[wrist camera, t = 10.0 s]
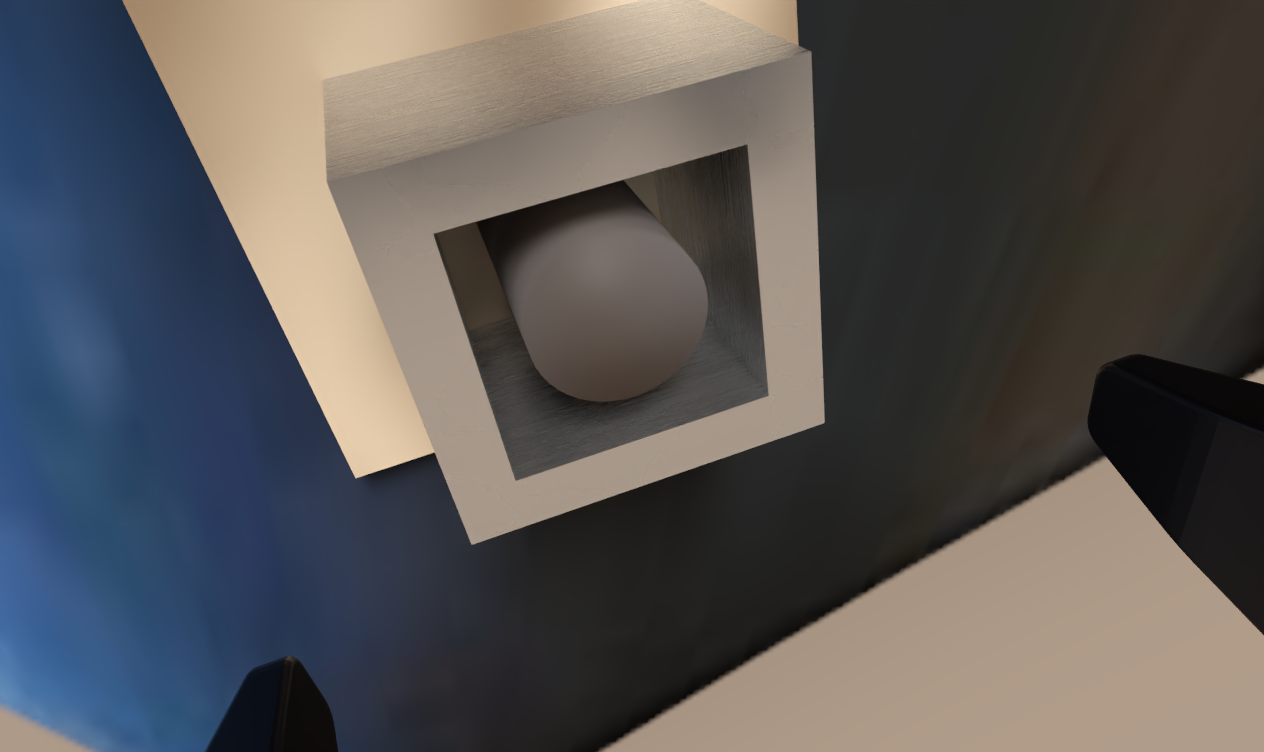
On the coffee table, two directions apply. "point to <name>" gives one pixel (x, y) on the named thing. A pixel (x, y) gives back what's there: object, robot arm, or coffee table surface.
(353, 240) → the white square hollow block
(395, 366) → the post stand
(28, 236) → the coffee table surface
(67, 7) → the coffee table surface
